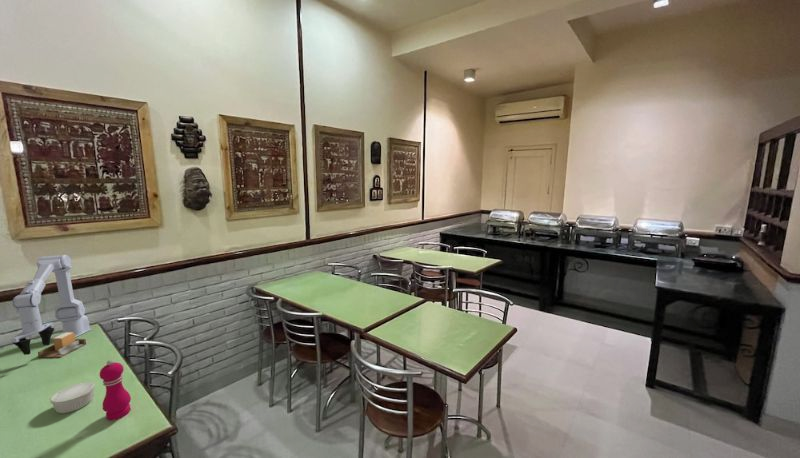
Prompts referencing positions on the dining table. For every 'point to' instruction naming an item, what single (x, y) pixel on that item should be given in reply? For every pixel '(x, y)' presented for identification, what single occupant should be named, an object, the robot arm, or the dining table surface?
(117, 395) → the pepper mill
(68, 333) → the tan block
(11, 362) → the dining table surface
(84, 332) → the robot arm
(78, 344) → the shelf
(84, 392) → the ramekin
